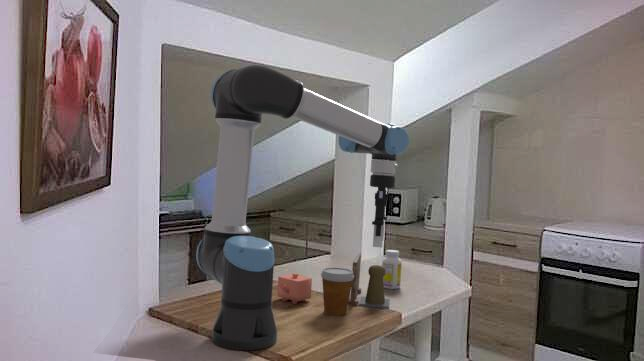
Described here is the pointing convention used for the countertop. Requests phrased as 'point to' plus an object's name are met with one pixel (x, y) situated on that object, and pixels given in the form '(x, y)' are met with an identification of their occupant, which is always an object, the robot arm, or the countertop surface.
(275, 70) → the robot arm
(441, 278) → the countertop surface
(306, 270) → the countertop surface
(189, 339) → the countertop surface
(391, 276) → the supplement bottle
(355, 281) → the screen
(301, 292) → the pink cube teapot
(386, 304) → the coaster
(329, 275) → the disposable coffee cup
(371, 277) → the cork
